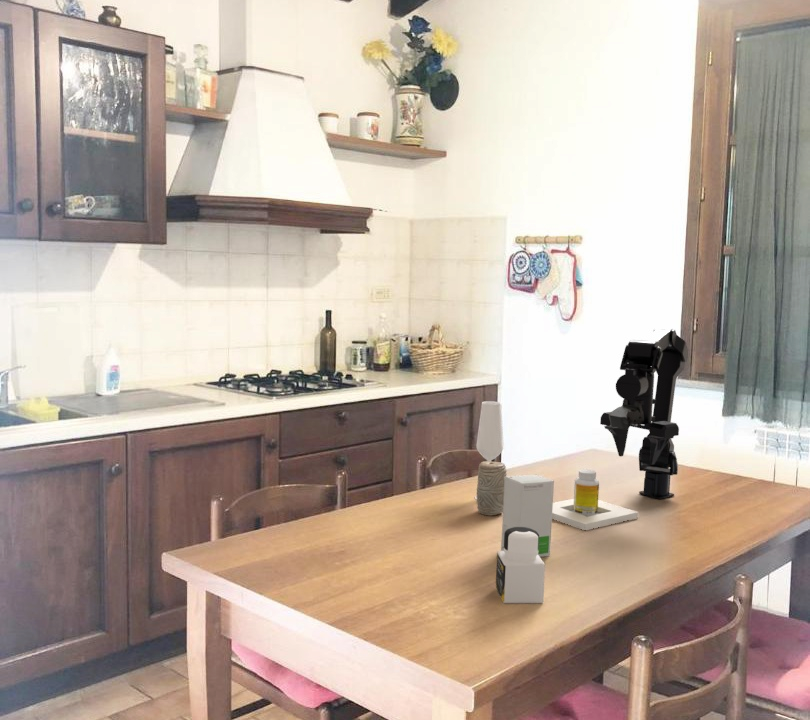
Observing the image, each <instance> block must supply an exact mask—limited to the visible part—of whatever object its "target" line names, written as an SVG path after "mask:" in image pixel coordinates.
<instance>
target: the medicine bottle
mask: <svg viewBox="0 0 810 720" xmlns="http://www.w3.org/2000/svg"><path fill="white" fill-rule="evenodd" d="M538 551H539V534H538V532H536V531H535V530H533V529H530V528H527V527H513V528H510V529H507V530H506V531H505V533H504V551H501V550H497V552H496V570H495V571H496V573H495V574H496V575H495V576H496V577H495V589H496V591H497V594H498V596H499V597H500V599H501V601H502V603H503V604H543V603H544V594H545V578H546V576H545V574H546V573H545V571H546V563H544V560H542V557H539V555H538Z"/></svg>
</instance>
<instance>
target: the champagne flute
mask: <svg viewBox="0 0 810 720" xmlns="http://www.w3.org/2000/svg"><path fill="white" fill-rule="evenodd" d="M503 430H504V428H503V412H502V402H501V401H493V400H487V401H485V400H484V401H482V402H481V406H480V416H479V423H478V430H477V435H476V436H477V438H476V444H475V446H476V447H475V448H476V450H477V451H478V453H479V454H480V455H481V457H482V458H483V459H484V460H485V461H492V460H495V459H496V458H497V457H499V455H501V453H502V452H503V450H504V431H503ZM492 462H493V461H492ZM474 497H475V498H474V500H476V499H477V495H475V496H474Z"/></svg>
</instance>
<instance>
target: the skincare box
mask: <svg viewBox="0 0 810 720" xmlns="http://www.w3.org/2000/svg"><path fill="white" fill-rule="evenodd" d="M504 480H505V482H504V504H503V512H502V524H501V527H502V529H501V530H502V531H501V543H500V544H501V547H500V551H504V533H505V531H506V530H507V529H510V528H513V527H527V528H530V529H533V530H535V531H536V532H538V534H539V551H538V555H539V557H540V558H542V557H550V556H551V543H552V542H551V541H552V527H553V526H552V525H553V524H552V523H553V522H552V521H553V519H552V508H553V503H554V486H555V481H554V480H553V479H550V478H548V477H544V476H541V475H539V474H525V475H524V474H519V475H506V476H505V477H504Z"/></svg>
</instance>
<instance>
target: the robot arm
mask: <svg viewBox="0 0 810 720" xmlns="http://www.w3.org/2000/svg"><path fill="white" fill-rule="evenodd" d="M688 358H689V349H688V346H687V342H686V341H685V340H684V339H683V338H682V337H680V336H679V335H677V332H676V329H673V328H667V327H665V328H663V327H657V328H654V329H653V331H652V332H651V333H650V334H649V335H648V336H646V337H645V338H643V339H631V340H629V342H628V343H627V344H626V345H625V348H624V352H623V355H622V358H621V363H620V367H619V370H621V371H624V374H623V375H620V377H618V379H617V380H616V383H615V391H616V393H617V394H618V396H619V397H620V398H623V399H622V404H621V406H619V407H616V408H614V409H613V410H612V411H607V412H603V413H602V414H601V416H600V425H602V426H603V427H604V429H605V430H608V431H609V432H610V434H611V435H612V438H613V440H614V444H615V446H616V451H617V454H618V456H619V457H624V454H625V451H626V447H627V440H628V434H629V429H630V428H631V427H632V428H638V429H642V430H646V431H648V434H647V435H646V436H644V437H643V439H642V443H641V447H640V448H639V452H638V464H639V465H638V466H639V472H645V474H644V478H643V479H644V480H643V481H644V482H643V490H642V491H638V494H640V495H643V496H647V497H650V498H653V499H658V500H661V499H665V498H666V499H667V498H670V497H671V498H672V497H675V493H672V492H670V488H671V476H675V475H678V472H679V466H678V465H679V463H678V460H677V459H678V458H677V455H676V452H675V445H674V442H673V440H672V439H674V437H676V436H679V434H680V433H679V431H680V427H679V425H678V424H677V422H672V416H673V415H672V414H673V413H672V412H673V406H674V399H675V389H676V382H677V378H679V376H680V374H681V373H682V372H683V371H684V369H685V365H686V363H687V362H688ZM655 372H656V374H657V380H656V388H655V397H654V384H655Z"/></svg>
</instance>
